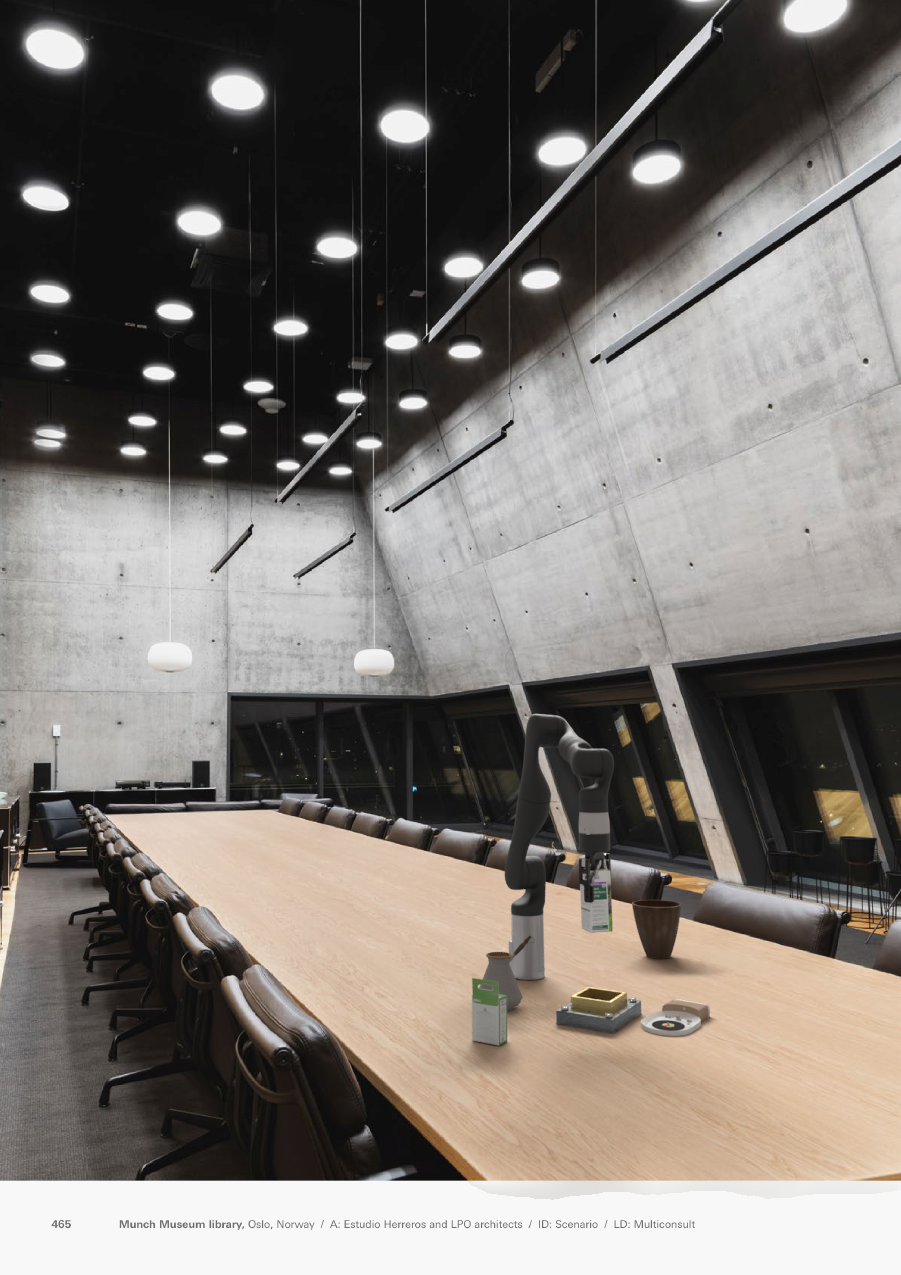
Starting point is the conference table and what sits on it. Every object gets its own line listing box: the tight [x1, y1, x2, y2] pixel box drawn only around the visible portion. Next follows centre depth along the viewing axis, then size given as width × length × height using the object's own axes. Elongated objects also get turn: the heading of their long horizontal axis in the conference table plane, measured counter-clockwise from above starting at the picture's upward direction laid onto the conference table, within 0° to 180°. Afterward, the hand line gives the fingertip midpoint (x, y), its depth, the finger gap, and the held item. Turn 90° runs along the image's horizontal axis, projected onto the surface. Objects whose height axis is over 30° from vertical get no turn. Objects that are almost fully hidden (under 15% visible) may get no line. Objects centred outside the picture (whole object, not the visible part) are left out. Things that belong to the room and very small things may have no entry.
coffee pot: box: [478, 936, 535, 1013], centre depth 223 cm, size 21×12×15 cm, turn 143°
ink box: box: [471, 977, 508, 1046], centre depth 193 cm, size 7×4×13 cm, turn 56°
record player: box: [640, 998, 711, 1037], centre depth 205 cm, size 12×3×20 cm
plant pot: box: [631, 899, 682, 960], centre depth 273 cm, size 15×15×16 cm
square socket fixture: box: [555, 986, 642, 1035], centre depth 209 cm, size 14×18×6 cm
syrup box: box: [579, 868, 614, 934], centre depth 212 cm, size 6×6×14 cm
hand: (596, 899), depth 212 cm, fingers closed on syrup box, 8 cm apart
